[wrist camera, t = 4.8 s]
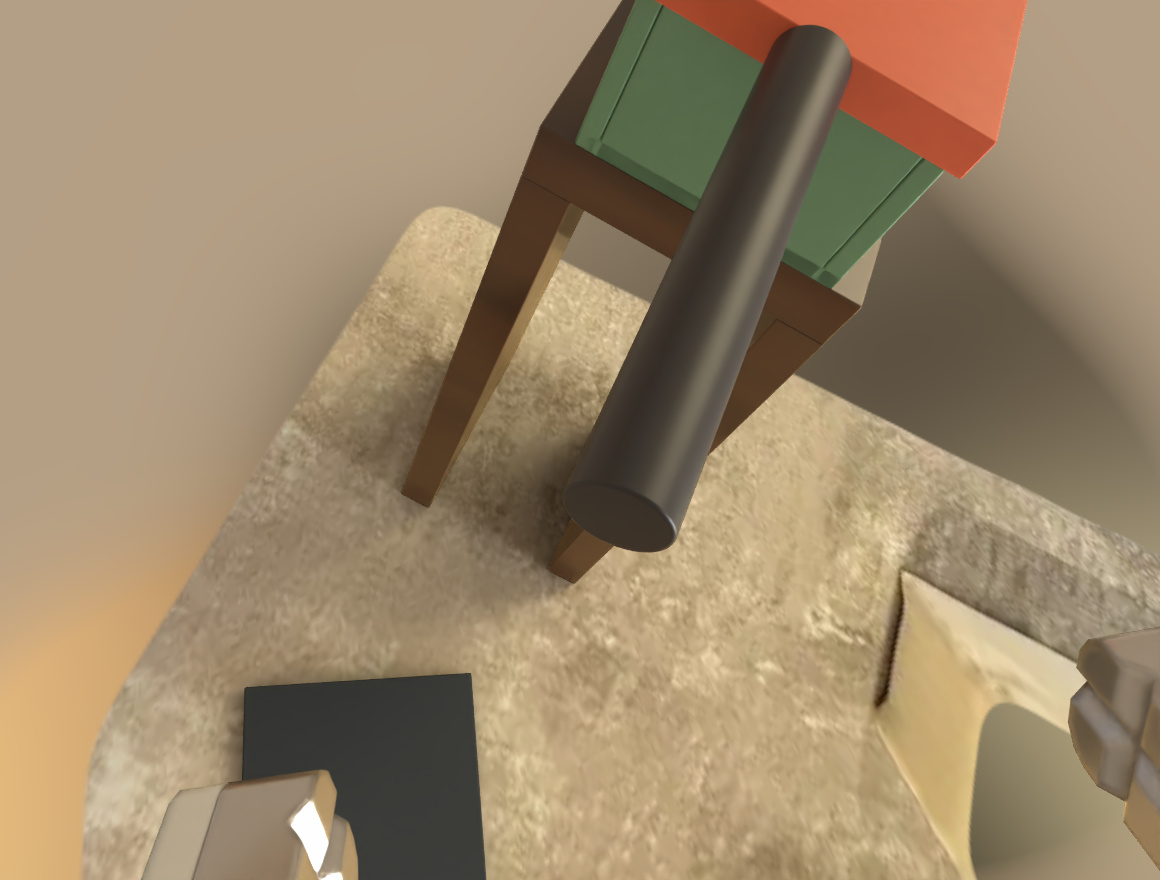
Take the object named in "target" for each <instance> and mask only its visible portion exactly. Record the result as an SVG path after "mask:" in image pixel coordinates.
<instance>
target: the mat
mask: <svg viewBox="0 0 1160 880" xmlns="http://www.w3.org/2000/svg"><path fill="white" fill-rule="evenodd" d="M320 769H321V770H326V771H328V772H329V774H330V777H331V779H332V781H333V784H334V786H335V789H336V791H337V796H336V802H335V809H334V813H335V814H337V815H339V816H340V817H342V818H344V819H345V820H347V821H348V823H349V826H350V828H351V831H352V834H353V837H354V842H355V847H356V852H357V858H358V880H486V870H485V856H484V842H483V828H482V815H481V801H480V787H479V774H478V760H477V746H476V732H475V719H474V705H473V691H472V677H471V673H464V674H448V675H432V676H416V677H401V678H385V679H369V680H353V681H337V682H322V683H306V684H290V685H274V686H259V687H246V688H245V692H244V729H243V767H242V780H250V779H257V778H264V777H271V776H278V775H285V774H292V773H299V772H306V771H313V770H320Z"/></svg>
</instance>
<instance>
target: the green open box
mask: <svg viewBox="0 0 1160 880" xmlns="http://www.w3.org/2000/svg"><path fill="white" fill-rule="evenodd" d="M762 66H763V63H761V62H759V61H757V60H756V59H754V58H752V57H751V56H749V55H747V54H746V53H744V52H742V51H740V50H739V49H737V48H735V47H734V46H732V45H730V44H728V43H727V42H725V41H723V40H722V39H720V38H718V37H717V36H715V35H713V34H711V33H710V32H708V31H706V30H705V29H703V28H701V27H700V26H698V25H696V24H694V23H693V22H691V21H689V20H688V19H686V18H684V17H682V16H681V15H679V14H677V13H676V12H674V11H672V10H671V9H669V8H667V7H665V6H664V5H662V4H660V3H659V2H657V1H655V0H636V1H635V3H634V5H633V8H632V10H631V12H630V14H629V17H628V19H627V21H626V24H625V26H624V28H623V31H622V33H621V35H620V38H619V40H618V42H617V45H616V47H615V49H614V51H613V54H612V56H611V58H610V61H609V63H608V65H607V68H606V70H605V72H604V75H603V77H602V79H601V82H600V84H599V86H598V88H597V91H596V93H595V95H594V98H593V100H592V102H591V105H590V107H589V109H588V112H587V114H586V116H585V119H584V121H583V123H582V126H581V128H580V130H579V132H578V135H577V137H576V139H575V144H576V145H578V146H580V147H581V148H583V149H585V150H587V151H589V152H590V153H592V154H594V155H596V156H597V157H599V158H601V159H603V160H604V161H606V162H608V163H610V164H611V165H613V166H615V167H617V168H618V169H620V170H622V171H624V172H626V173H627V174H629V175H631V176H633V177H634V178H636V179H638V180H640V181H641V182H643V183H645V184H647V185H648V186H650V187H652V188H654V189H656V190H657V191H659V192H661V193H663V194H664V195H666V196H668V197H670V198H671V199H673V200H675V201H677V202H678V203H680V204H682V205H684V206H685V207H687V208H689V209H691V210H693V211H695V209H696V207H697V205H698V203H699V201H700V199H701V196H702V194H703V192H704V190H705V188H706V186H707V184H708V181H709V179H710V177H711V175H712V173H713V171H714V169H715V166H716V164H717V162H718V160H719V158H720V156H721V154H722V152H723V149H724V147H725V145H726V143H727V141H728V139H729V137H730V134H731V132H732V130H733V128H734V126H735V124H736V122H737V120H738V117H739V115H740V113H741V111H742V109H743V107H744V105H745V102H746V100H747V98H748V96H749V94H750V92H751V90H752V87H753V85H754V83H755V81H756V79H757V77H758V75H759V73H760V70H761V68H762ZM944 171H945V170H943V169H941V168H940V167H938V166H936V165H935V164H933V163H931V162H930V161H928V160H926V159H924V158H923V157H921V156H919V155H918V154H916V153H914V152H913V151H911V150H909V149H907V148H906V147H904V146H902V145H901V144H899V143H897V142H895V141H894V140H892V139H890V138H889V137H887V136H885V135H884V134H882V133H880V132H878V131H877V130H875V129H873V128H872V127H870V126H868V125H867V124H865V123H863V122H861V121H860V120H858V119H856V118H855V117H853V116H851V115H849V114H848V113H846V112H844V111H843V110H841V109H839V108H838V110H837V113H836V116H835V118H834V121H833V124H832V126H831V129H830V132H829V134H828V137H827V140H826V142H825V145H824V148H823V150H822V153H821V156H820V158H819V161H818V163H817V166H816V169H815V171H814V174H813V177H812V179H811V182H810V185H809V187H808V190H807V193H806V195H805V198H804V201H803V203H802V206H801V209H800V211H799V214H798V217H797V219H796V222H795V225H794V227H793V230H792V233H791V235H790V238H789V241H788V243H787V246H786V249H785V251H784V254H783V257H782V259H781V261H782V262H784V263H786V264H788V265H790V266H791V267H793V268H795V269H797V270H798V271H800V272H802V273H804V274H805V275H807V276H809V277H811V278H812V279H814V280H816V281H818V282H819V283H821V284H823V285H825V286H827V287H828V288H833V287H834V286H835V285H836V284H837V283H838V282H839V281H840V280H841V279H842V278H843V277H844V276H845V274H846V273H847V272H848V271H849V270H850V269H851V268H852V267H853V266H854V265H855V264H856V263H857V262H858V261H859V260H860V259H861V258H862V257H863V256H864V255H865V254H866V253H867V252H868V251H869V249H870V248H871V247H872V246H873V245H874V244H875V243H876V242H877V241H878V240H879V239H880V238H881V237H882V236H883V235H884V234H885V233H886V232H887V231H888V230H889V229H890V228H891V227H892V226H893V224H894V223H895V222H896V221H897V220H898V219H899V218H900V217H901V216H902V215H903V214H904V213H905V212H906V211H907V210H908V209H909V208H910V207H911V206H912V205H913V204H914V202H916V200H917V199H918V198H919V197H920V196H921V195H922V194H923V193H924V192H925V191H926V190H927V189H928V188H929V187H930V186H931V185H932V184H933V183H934V182H935V181H936V180H937V178H939V177H940V176H941V174H942V173H943V172H944Z"/></svg>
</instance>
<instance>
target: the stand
mask: <svg viewBox="0 0 1160 880" xmlns="http://www.w3.org/2000/svg"><path fill="white" fill-rule="evenodd" d="M635 1H636V0H622V1H621V3H620V4H619V6H618V7H617V9H616V10H615V12H614V13H613V15H612V16H611V18H610V19H609V21H608V23H607V24H606V26H605V27H604V29H603V30H602V32H601V33H600V35H599V36H598V38H597V39H596V41H595V42H594V44H593V45H592V47H591V49H590V50H589V52H588V53H587V55H586V56H585V58H584V59H583V61H582V62H581V64H580V65H579V67H578V69H577V70H576V72H575V73H574V75H573V76H572V78H571V79H570V81H569V82H568V84H567V85H566V87H565V88H564V90H563V91H562V93H561V94H560V96H559V98H558V99H557V101H556V102H555V104H554V105H553V107H552V108H551V110H550V111H549V113H548V114H547V116H546V117H545V119H544V121H543V122H542V124H541V125H540V127H539V130H538V133H537V135H536V138H535V141H534V143H533V146H532V149H531V152H530V154H529V157H528V159H527V162H526V164H525V167H524V170H523V172H522V175H521V177H520V180H519V183H518V186H517V188H516V191H515V193H514V196H513V199H512V201H511V204H510V207H509V209H508V212H507V214H506V217H505V220H504V222H503V225H502V228H501V230H500V233H499V236H498V238H497V241H496V244H495V246H494V249H493V251H492V254H491V257H490V259H489V262H488V265H487V267H486V270H485V273H484V275H483V278H482V280H481V283H480V286H479V288H478V291H477V294H476V296H475V299H474V302H473V304H472V307H471V310H470V312H469V315H468V317H467V320H466V323H465V325H464V328H463V331H462V333H461V336H460V339H459V341H458V344H457V347H456V349H455V352H454V354H453V357H452V360H451V362H450V365H449V368H448V370H447V373H446V376H445V378H444V381H443V383H442V386H441V389H440V391H439V394H438V397H437V399H436V402H435V405H434V407H433V410H432V413H431V415H430V418H429V420H428V423H427V426H426V428H425V431H424V434H423V436H422V439H421V442H420V444H419V447H418V450H417V452H416V455H415V457H414V460H413V463H412V465H411V468H410V471H409V473H408V476H407V479H406V481H405V484H404V487H403V489H402V492H401V494H403V495H405V496H407V497H409V498H411V499H413V500H415V501H416V502H418V503H420V504H422V505H424V506H426V507H428V508H429V507H430V505H431V503H432V502H433V500H434V498H435V496H436V495H437V493H438V491H439V489H440V487H441V486H442V484H443V482H444V480H445V478H446V477H447V475H448V473H449V471H450V469H451V468H452V466H453V464H454V462H455V460H456V459H457V457H458V455H459V453H460V451H461V450H462V448H463V446H464V444H465V442H466V441H467V439H468V437H469V435H470V433H471V432H472V430H473V428H474V426H475V424H476V423H477V421H478V419H479V417H480V415H481V414H482V412H483V410H484V408H485V406H486V405H487V403H488V401H489V399H490V397H491V396H492V394H493V392H494V390H495V388H496V387H497V385H498V383H499V381H500V379H501V378H502V376H503V374H504V372H505V371H506V369H507V367H508V365H509V363H510V361H511V359H512V357H513V355H514V353H515V351H516V349H517V347H518V345H519V343H520V341H521V339H522V337H523V335H524V332H525V330H526V328H527V326H528V324H529V322H530V320H531V318H532V316H533V314H534V312H535V310H536V308H537V306H538V304H539V302H540V300H541V298H542V296H543V294H544V292H545V290H546V288H547V286H548V283H549V281H550V279H551V277H552V275H553V273H554V271H555V269H556V267H557V265H558V263H559V261H560V259H561V257H562V255H563V253H564V251H565V249H566V247H567V244H568V243H569V241H570V238H571V237H572V234H573V232H574V230H575V228H576V226H577V224H578V222H579V220H580V218H581V216H582V214H583V212H584V211H586V212H588V213H590V214H591V215H593V216H595V217H597V218H599V219H600V220H602V221H604V222H606V223H607V224H609V225H611V226H613V227H615V228H616V229H618V230H620V231H622V232H624V233H625V234H627V235H629V236H631V237H632V238H634V239H636V240H638V241H640V242H641V243H643V244H645V245H647V246H648V247H650V248H652V249H654V250H656V251H657V252H659V253H661V254H663V255H665V256H666V257H668V258H670V259H672V258H673V256H674V254H675V252H676V250H677V248H678V245H679V243H680V241H681V239H682V237H683V235H684V233H685V231H686V228H687V226H688V224H689V222H690V220H691V218H692V216H693V213H694V211H693V210H691V209H689V208H687V207H685V206H684V205H682V204H680V203H678V202H677V201H675V200H673V199H671V198H670V197H668V196H666V195H664V194H663V193H661V192H659V191H657V190H656V189H654V188H652V187H650V186H648V185H647V184H645V183H643V182H641V181H640V180H638V179H636V178H634V177H633V176H631V175H629V174H627V173H626V172H624V171H622V170H620V169H618V168H617V167H615V166H613V165H611V164H610V163H608V162H606V161H604V160H603V159H601V158H599V157H597V156H596V155H594V154H592V153H590V152H589V151H587V150H585V149H583V148H581V147H580V146H578V145H576V144H575V139H576V137H577V135H578V132H579V130H580V128H581V126H582V123H583V121H584V119H585V116H586V114H587V112H588V109H589V107H590V105H591V102H592V100H593V98H594V95H595V93H596V91H597V88H598V86H599V84H600V82H601V79H602V77H603V75H604V72H605V70H606V68H607V65H608V63H609V61H610V58H611V56H612V54H613V51H614V49H615V47H616V45H617V42H618V40H619V38H620V35H621V33H622V31H623V28H624V26H625V24H626V21H627V19H628V17H629V14H630V12H631V10H632V8H633V5H634V3H635ZM882 238H883V236H882V237H881V238H880V239H879V240H878V241H877V242H876V243H875V244H874V245H873V246H872V247H871V248H870V249H869V251H868V252H867V253H866V254H865V255H864V256H863V257H862V258H861V259H860V260H859V261H858V262H857V263H856V264H855V265H854V266H853V267H852V268H851V269H850V270H849V271H848V272H847V273H846V274H845V276H844V277H843V278H842V279H841V280H840V281H839V282H838V283H837V284H836V285H835V286H834V287H833V288H828V287H827V286H825V285H823V284H821V283H819V282H818V281H816V280H814V279H812V278H811V277H809V276H807V275H805V274H804V273H802V272H800V271H798V270H797V269H795V268H793V267H791V266H790V265H788V264H786V263H784V262H782V261H781V262H780V264H779V267H778V270H777V272H776V275H775V278H774V280H773V283H772V286H771V288H770V291H769V294H768V296H767V299H766V302H765V304H764V307H763V310H762V312H761V315H760V318H759V320H758V323H757V326H756V328H755V331H754V334H753V336H752V339H751V342H750V344H749V347H748V350H747V352H746V355H745V357H744V360H743V363H742V365H741V368H740V371H739V373H738V376H737V379H736V381H735V384H734V387H733V389H732V392H731V395H730V397H729V400H728V403H727V405H726V408H725V411H724V413H723V416H722V419H721V421H720V424H719V427H718V429H717V432H716V435H715V437H714V440H713V443H712V445H711V448H710V450H709V453H708V455H709V454H710V453H711V452H712V451H713V450H714V449H715V448H717V447H718V446H719V445H720V444H721V443H722V442H723V441H724V440H725V439H726V438H727V437H728V436H729V435H730V434H731V433H732V432H733V431H734V430H735V429H736V428H737V427H738V426H739V425H740V424H742V423H743V422H744V421H745V420H746V419H747V418H748V417H749V416H750V415H751V414H752V413H753V412H754V411H755V410H756V409H757V408H758V407H759V406H760V405H761V404H762V403H763V402H764V401H766V400H767V399H768V398H769V397H770V396H771V395H772V394H773V393H774V392H775V391H776V390H777V389H778V388H779V387H780V386H781V385H782V384H783V383H784V382H785V381H786V380H787V379H788V378H789V377H791V376H792V375H793V374H794V373H795V372H796V371H797V370H798V369H799V368H800V367H801V366H802V365H803V364H804V363H805V362H806V361H807V360H808V359H809V358H810V357H811V356H812V355H813V354H814V353H816V352H817V351H818V350H819V349H820V348H821V347H822V346H823V344H824V343H826V342H827V341H828V340H829V339H830V338H831V337H832V336H833V335H834V334H835V333H836V332H837V331H838V330H839V329H840V328H841V327H842V326H843V325H844V324H845V323H846V322H848V321H849V319H851V317H853V316H854V315H855V314H856V313H857V312H858V311H859V310H860V309H861V308H862V305H863V301H864V298H865V295H866V292H867V288H868V285H869V282H870V278H871V275H872V271H873V268H874V265H875V261H876V258H877V254H878V251H879V248H880V244H881V241H882ZM612 547H613V545H611V544H608V543H606V542H604V541H602V540H600V539H598V538H596V537H594V536H593V535H591V534H589V533H588V532H586V531H585V530H584V529H582V528H581V527H580V526H579V525H578V524H576V523H575V522H574V521H573V520H572V519H570V521H569V523H568V525H567V527H566V530H565V532H564V534H563V536H562V538H561V541H560V543H559V545H558V547H557V549H556V552H555V554H554V556H553V558H552V560H551V563H550V565H549V567H548V571H550V572H552V573H554V574H556V575H558V576H560V577H562V578H564V579H566V580H568V581H570V582H571V583H573V584H575V583H576V582H577V581H578V580H579V579H580V578H581V577H582V576H583V575H584V574H585V573H586V572H587V571H588V570H589V569H590V568H591V567H592V566H593V565H595V564H596V563H597V562H598V561H599V560H600V559H601V558H602V557H603V556H604V555H605V554H606V553H607V552H608V551H609V550H610V549H611V548H612Z"/></svg>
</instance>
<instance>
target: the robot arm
mask: <svg viewBox="0 0 1160 880" xmlns="http://www.w3.org/2000/svg"><path fill="white" fill-rule="evenodd" d="M1076 668H1077V669H1078V670H1079V671H1080V673H1081V674H1082V675H1083V676H1084V678H1085V679H1086V680H1087V682H1086V683H1085V684H1084V685H1083V686H1082V687H1081V688H1080V689H1079V690H1078V691H1077V692H1076V693H1075V695H1074V696H1073V697H1072V698H1071V701H1070V710H1069V718H1068V724H1069V728H1070V733H1071V737H1072V742H1073V746H1074V748H1075V751H1076V753H1077V755H1078V757H1079V759H1080V761H1081V763H1082V765H1083V767H1084V768H1085V770H1086V771H1087V773H1088V774H1089V775H1090V777H1091V778H1092V780H1093V781H1094V782H1095V784H1096V785H1097V786H1098V787H1099V788H1101V789H1103V790H1105V791H1107V792H1108V793H1110V794H1112V795H1114V796H1116V797H1118V798H1120V799H1121V800H1123V801H1125V806H1124V823H1125V825H1126V826H1127V827H1128V829H1129V830H1130V831H1131V833H1132V834H1133V835H1134V837H1135V838H1136V839H1137V841H1138V842H1139V843H1140V845H1141V846H1142V847H1143V849H1144V850H1145V851H1146V853H1147V854H1148V856H1149V857H1150V858H1151V859H1152V861H1153V862H1154V863H1155V865H1156V866H1157V868H1158V869H1159V870H1160V627H1155V628H1149V629H1144V630H1138V631H1133V632H1127V633H1121V634H1116V635H1110V636H1105V637H1099V638H1094V639H1088V640H1087V641H1086V643H1085V644H1084V645H1083V646H1082V648H1081V649H1080V652H1079V657H1078V662H1077V667H1076ZM336 796H337V791H336V789H335V786H334V784H333V781H332V779H331V777H330V774H329V772H328V771H326V770H321V769H320V770H313V771H306V772H299V773H292V774H285V775H278V776H271V777H264V778H257V779H250V780H242V781H235V782H228V783H227V784H221V785H214V786H207V787H200V788H193V789H186V790H180V791H179V792H178V794H177V795H176V796H175V797H174V798H173V799H172V801H171V802H170V803H169V805H168V807H167V810H166V813H165V815H164V818H163V821H162V824H161V826H160V829H159V832H158V835H157V837H156V840H155V843H154V846H153V848H152V851H151V854H150V856H149V859H148V862H147V865H146V867H145V870H144V873H143V876H142V878H141V880H358V858H357V852H356V847H355V842H354V837H353V834H352V831H351V828H350V826H349V823H348V821H347V820H345V819H344V818H342V817H340V816H339V815H337V814H335V813H334V809H335V802H336Z"/></svg>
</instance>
